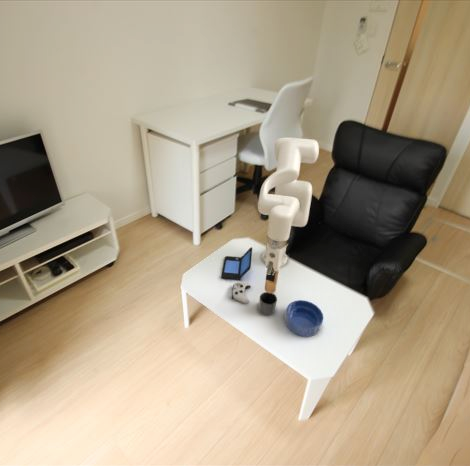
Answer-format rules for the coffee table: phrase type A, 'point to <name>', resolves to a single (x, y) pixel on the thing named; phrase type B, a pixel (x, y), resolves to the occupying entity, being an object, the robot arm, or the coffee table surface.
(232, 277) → the game console
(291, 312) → the bowl
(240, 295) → the gaming controller
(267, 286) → the dowel
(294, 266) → the coffee table surface
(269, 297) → the cup
